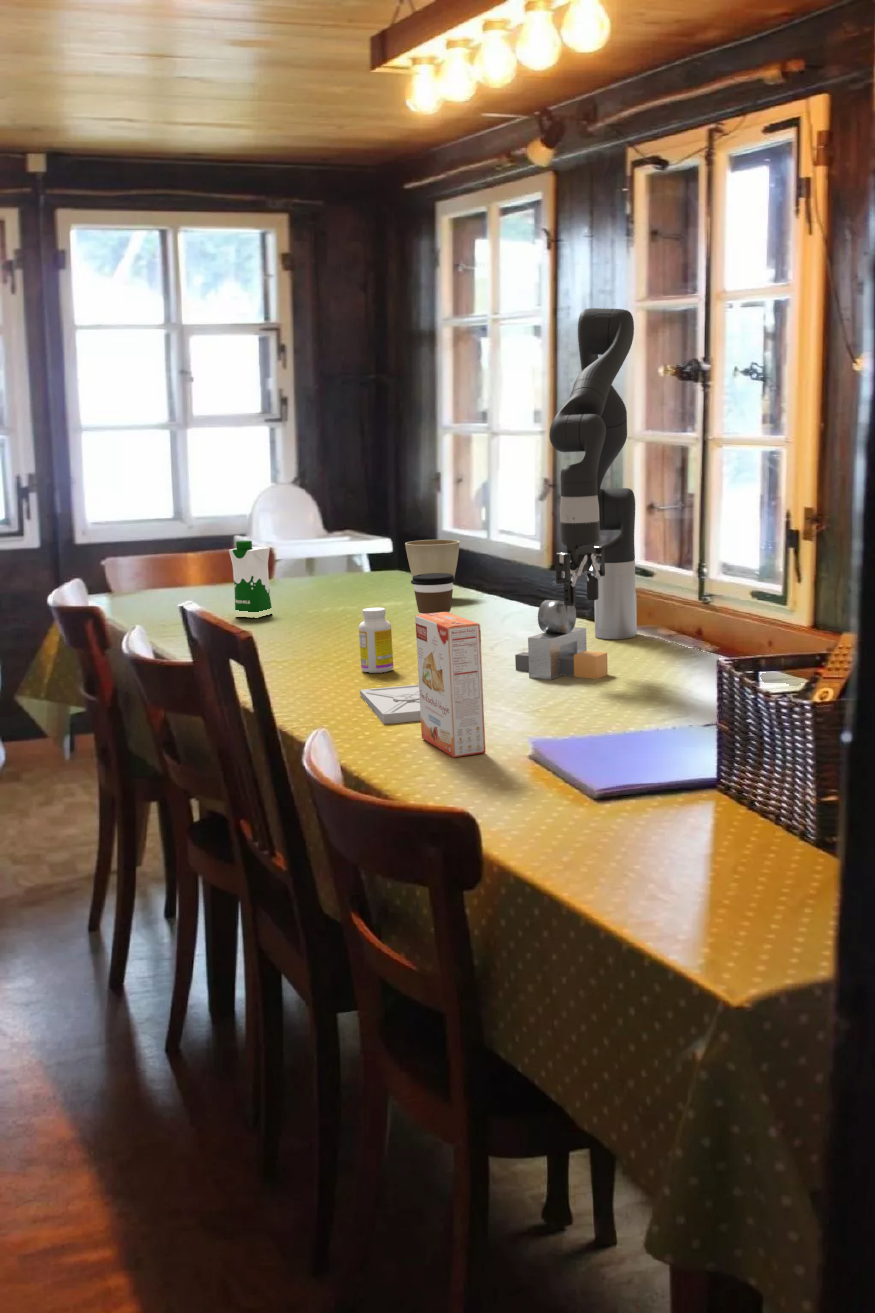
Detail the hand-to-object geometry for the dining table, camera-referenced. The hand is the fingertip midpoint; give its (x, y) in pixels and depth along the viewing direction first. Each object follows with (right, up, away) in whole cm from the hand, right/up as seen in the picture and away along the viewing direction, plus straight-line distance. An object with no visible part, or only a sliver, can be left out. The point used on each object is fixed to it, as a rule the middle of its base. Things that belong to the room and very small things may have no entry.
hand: (581, 602), depth 270 cm
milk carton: (-76, 0, +95) cm, 122 cm away
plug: (-4, -14, +6) cm, 16 cm away
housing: (-4, -14, +7) cm, 16 cm away
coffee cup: (-29, -3, +70) cm, 76 cm away
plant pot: (-29, +5, +110) cm, 114 cm away
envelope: (-33, -20, -18) cm, 43 cm away
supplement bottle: (-40, -14, +16) cm, 46 cm away
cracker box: (-26, -25, -48) cm, 60 cm away
